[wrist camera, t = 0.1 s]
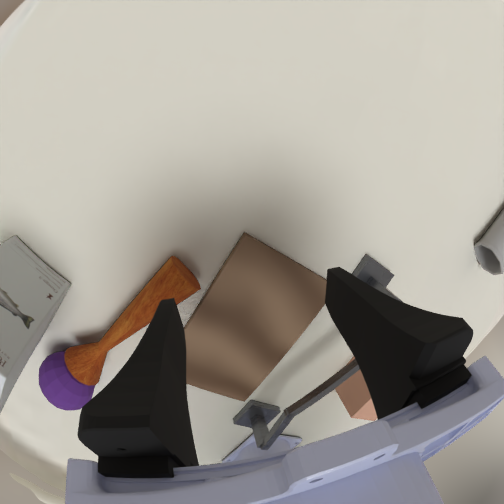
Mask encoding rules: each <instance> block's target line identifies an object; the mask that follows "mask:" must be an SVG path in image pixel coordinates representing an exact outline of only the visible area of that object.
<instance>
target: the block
mask: <svg viewBox="0 0 504 504" xmlns="http://www.w3.org/2000/svg"><path fill="white" fill-rule="evenodd" d="M354 359H355V357H353V358H352V359H351V360H350V361H349V363H350V362H351V361H352V360H354ZM349 363H348V364H349ZM335 390H336V392H337V393H338V395H339V397H340V399H341V400H342V402H343V404H344V406H345V408H346V409H347V411H348V413H349V415H350V416H351V418H357V419H364V420H372V421H375V420H376V419H377V415H376V411H375V408H374V405H373V402H372V399H371V396H370V393H369V390H368V387H367V385H366V382H365V380H364V377H363V375H362V372H361V370H358V371H357V372H356V373H355V374H353V375H352V376H351V377H349V378H348V379H347V380H346V381H344V382H343V383H342V384H340V385H339V386H338V387H336V388H335Z"/></svg>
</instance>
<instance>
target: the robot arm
mask: <svg viewBox="0 0 504 504" xmlns="http://www.w3.org/2000/svg"><path fill="white" fill-rule="evenodd" d="M325 304H326V306H327V309H328V311H329V313H330V315H331V318H332V320H333V321H334V323H335V325H336V327H337V328H338V330H339V332H340V333H341V335H342V336H343V338H344V340H345V341H346V343H347V345H348V346H349V348H350V350H351V351H352V353H353V355H354V357H355V359H356V361H357V363H358V365H359V368H360V370H361V372H362V375H363V377H364V380H365V382H366V385H367V387H368V390H369V393H370V396H371V399H372V402H373V405H374V408H375V411H376V415H377V418H378V420H377V421H374V422H371V423H368V424H365V425H363V426H360V427H358V428H355V429H352V430H349V431H347V432H344V433H341V434H338V435H335V436H332V437H329V438H326V439H323V440H320V441H316V442H313V443H310V444H307V445H304V446H301V447H297V448H294V447H295V446H297V445H298V444H299V443H300V442H301V441H302V439H301V438H298V437H291V436H284V435H279V437H278V438H277V439H276V441H275V442H274V443H273V444H272V445H271V447H270V448H269V449H268V450H261V448H257V445H256V441H255V437H254V433H253V434H252V435H251V436H250V437H249V438H248V439H247V440H246V441H245V442H243V443H242V444H241V445H240V446H239V447H238V448H237V449H236V450H234V451H233V452H232V453H231V454H230V455H229V456H228V457H226V458H225V459H224V460H223V461H222V463H218V464H210V465H201V466H199V464H198V459H197V455H196V450H195V445H194V440H193V435H192V429H191V423H190V417H189V410H188V402H187V391H186V340H185V331H184V327H183V324H182V321H181V318H180V315H179V312H178V309H177V305H176V302H175V299H174V298H170V299H164V300H161V301H160V303H159V305H158V307H157V309H156V312H155V314H154V316H153V318H152V320H151V322H150V324H149V326H148V328H147V330H146V332H145V334H144V336H143V337H142V339H141V341H140V343H139V344H138V346H137V348H136V349H135V351H134V352H133V354H132V355H131V357H130V358H129V360H128V361H127V362H126V364H125V365H124V366H123V368H122V369H121V370H120V371H119V373H118V374H117V375H116V376H115V377H114V378H113V380H112V381H111V382H110V383H109V384H108V385H107V386H106V387H105V388H104V389H103V390H102V391H101V392H99V393H98V394H97V395H96V396H95V397H94V398H92V399H91V400H90V401H89V402H88V403H86V404H85V405H84V406H83V407H82V411H81V414H80V420H79V428H78V438H79V440H80V441H81V442H82V443H83V444H84V445H85V446H86V447H88V448H89V449H90V450H91V451H93V452H94V453H95V454H97V455H98V456H99V457H98V463H97V462H95V461H91V460H81V459H72V458H69V459H68V465H67V478H66V497H65V504H444V503H443V500H442V499H441V497H440V495H439V492H438V490H437V488H436V487H435V484H434V483H433V481H432V479H431V477H430V475H429V473H428V471H427V469H426V467H425V465H424V463H423V461H425V460H427V459H428V458H430V457H431V456H433V455H435V454H436V453H438V452H439V451H441V450H442V449H443V448H445V447H447V446H448V445H449V444H451V443H452V442H454V441H455V440H457V439H458V438H459V437H461V436H462V435H463V434H465V433H466V432H467V431H469V430H470V429H471V428H473V427H474V426H475V425H476V424H477V423H479V422H480V421H482V420H483V419H484V418H486V417H487V416H488V415H489V414H490V413H491V412H492V410H493V409H494V408H495V407H496V406H497V405H498V404H499V403H500V402H501V401H502V400H503V398H504V379H503V377H502V376H501V375H500V373H499V372H498V371H497V370H496V368H495V367H494V366H493V364H492V363H491V362H490V361H489V359H488V358H487V357H486V356H483V357H482V358H480V359H479V360H477V361H476V362H474V363H473V364H471V365H470V366H469V367H468V368H466V367H465V366H464V364H465V362H466V360H465V358H464V357H463V354H464V353H465V351H466V349H467V347H468V346H469V344H470V342H471V340H472V337H473V329H472V328H471V327H470V326H469V325H468V324H467V323H466V322H465V320H464V319H463V318H459V317H452V316H446V315H441V314H437V313H433V312H429V311H425V310H422V309H419V308H416V307H413V306H411V305H408V304H406V303H403V302H401V301H399V300H396V299H394V298H392V297H390V296H388V295H386V294H384V293H382V292H381V291H379V290H377V289H375V288H373V287H372V286H370V285H368V284H367V283H365V282H363V281H362V280H360V279H358V278H357V277H355V276H354V275H352V274H350V273H349V272H347V271H345V270H344V269H342V268H340V267H336V268H331V269H328V271H327V283H326V295H325ZM293 448H294V449H293Z"/></svg>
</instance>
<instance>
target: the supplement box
mask: <svg viewBox="0 0 504 504" xmlns="http://www.w3.org/2000/svg"><path fill="white" fill-rule="evenodd" d="M70 286H71V284H70V283H69V282H68V281H67V280H65V279H64V278H62V277H61V276H60V275H58V274H57V273H56V272H55V271H53V270H52V269H51V268H50V267H49V266H47V265H46V264H45V263H44V262H43V261H42V260H41V259H39V258H38V257H37V256H36V255H35V254H34V253H33V252H32V251H31V250H30V249H29V248H28V247H27V246H26V245H25V244H24V243H23V242H22V241H21V240H20V239H19V238H18V237H17V236H13V237H11V238H10V239H8V240H6V241H5V242H3V243H2V244H0V413H1V411H2V409H3V407H4V405H5V403H6V401H7V399H8V397H9V395H10V393H11V391H12V389H13V387H14V385H15V383H16V381H17V379H18V378H19V376H20V374H21V372H22V370H23V368H24V367H25V365H26V363H27V361H28V360H29V358H30V356H31V355H32V353H33V351H34V350H35V348H36V346H37V345H38V343H39V341H40V340H41V338H42V337H43V335H44V333H45V331H46V330H47V328H48V326H49V324H50V322H51V320H52V319H53V317H54V315H55V313H56V311H57V309H58V308H59V306H60V304H61V302H62V300H63V298H64V297H65V295H66V293H67V291H68V290H69V288H70Z"/></svg>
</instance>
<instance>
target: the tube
mask: <svg viewBox="0 0 504 504" xmlns="http://www.w3.org/2000/svg"><path fill="white" fill-rule="evenodd" d="M474 249H475V254H476V259H477V260H478V262H479V263H480V265H481V266H482V268H483V269H484V270H486V271H488V272H490V273H491V274H493V275H497V274H503V272H504V208H503V210H502V211H501V213H500V214H499V215H498V217H497V218H496V219H495V221H494V222H493V224H492V225H491V226H490V228H489V229H488V230H487V231H486V233H485V234H484V235H483V237H482V238H481V239H480V240H479V242H477V243H475V245H474Z"/></svg>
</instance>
